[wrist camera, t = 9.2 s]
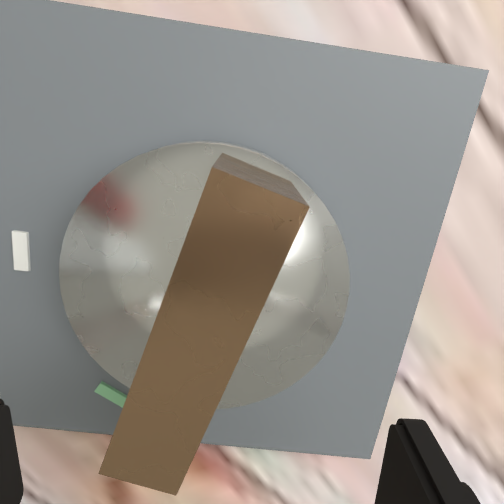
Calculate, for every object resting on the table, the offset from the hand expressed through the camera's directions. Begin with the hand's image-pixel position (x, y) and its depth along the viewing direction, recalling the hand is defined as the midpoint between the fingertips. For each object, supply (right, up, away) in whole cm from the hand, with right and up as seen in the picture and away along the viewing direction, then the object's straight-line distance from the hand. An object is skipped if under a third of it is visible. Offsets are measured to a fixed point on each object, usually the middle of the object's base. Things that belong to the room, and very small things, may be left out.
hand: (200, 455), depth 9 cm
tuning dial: (-2, +2, +10) cm, 11 cm away
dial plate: (-1, +4, +11) cm, 12 cm away
